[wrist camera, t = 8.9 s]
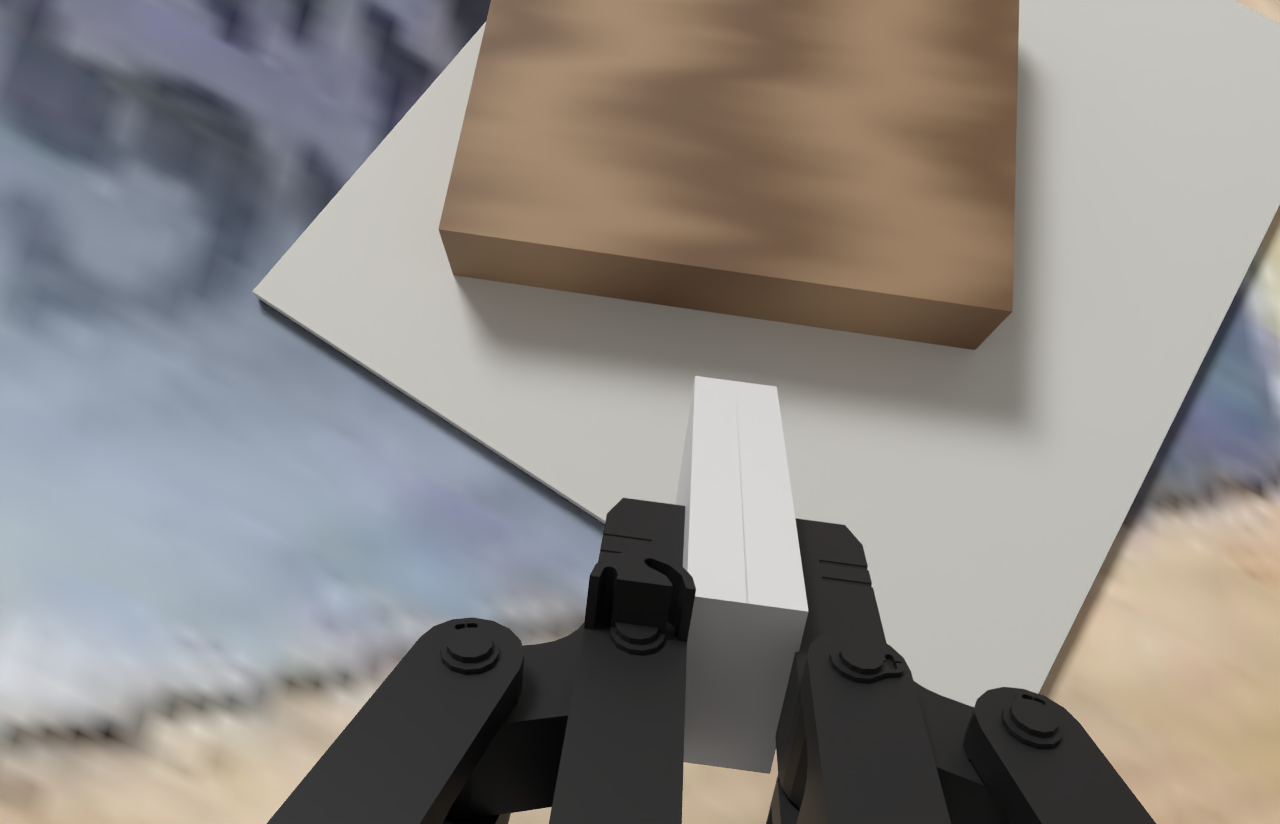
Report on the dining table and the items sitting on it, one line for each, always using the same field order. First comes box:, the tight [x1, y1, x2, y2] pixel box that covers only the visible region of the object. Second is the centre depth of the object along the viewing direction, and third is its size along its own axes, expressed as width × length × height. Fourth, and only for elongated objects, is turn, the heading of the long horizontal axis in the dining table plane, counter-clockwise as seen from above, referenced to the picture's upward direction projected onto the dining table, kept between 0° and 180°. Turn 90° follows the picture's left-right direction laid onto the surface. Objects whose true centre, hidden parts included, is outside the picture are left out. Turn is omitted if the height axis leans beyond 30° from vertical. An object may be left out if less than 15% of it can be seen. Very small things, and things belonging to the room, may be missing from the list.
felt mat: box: [252, 0, 1280, 707], centre depth 28 cm, size 22×24×1 cm
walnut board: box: [438, 0, 1019, 350], centre depth 27 cm, size 14×2×11 cm
